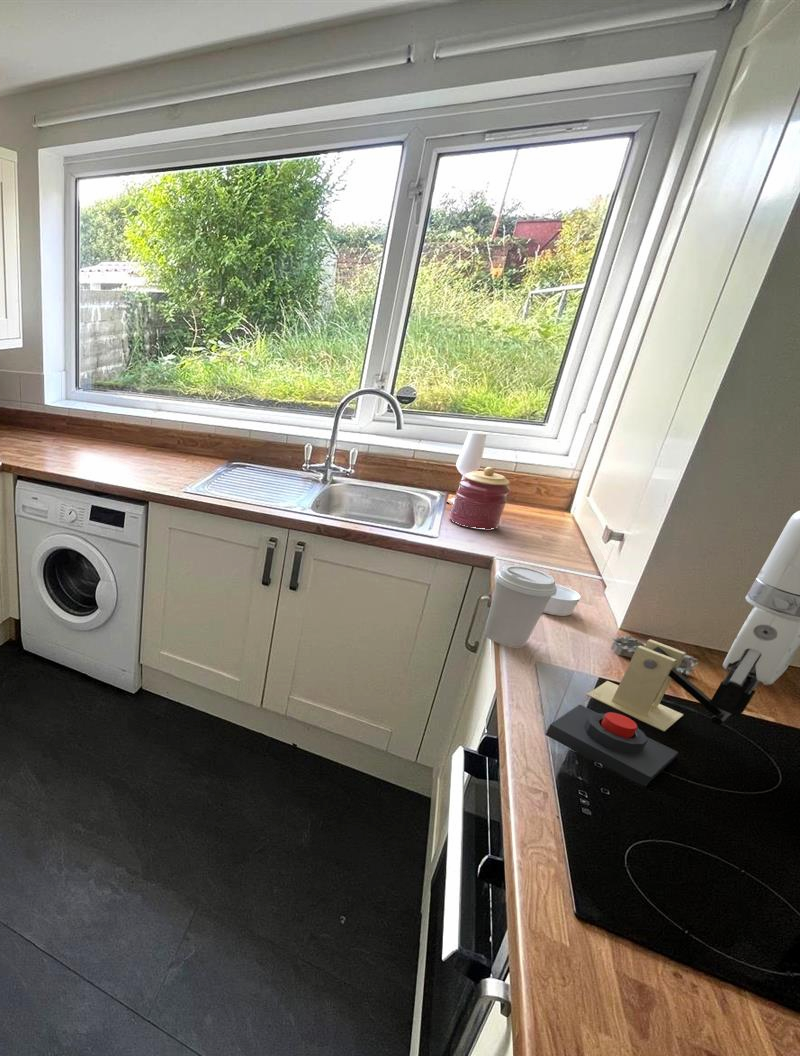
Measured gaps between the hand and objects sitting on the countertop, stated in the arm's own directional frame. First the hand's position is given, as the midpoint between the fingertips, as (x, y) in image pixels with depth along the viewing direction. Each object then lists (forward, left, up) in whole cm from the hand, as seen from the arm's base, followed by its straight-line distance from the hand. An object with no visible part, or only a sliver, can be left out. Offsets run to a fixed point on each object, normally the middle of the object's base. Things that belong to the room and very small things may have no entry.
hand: (725, 708), depth 85 cm
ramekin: (+33, -28, -7) cm, 44 cm away
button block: (+7, +15, -7) cm, 18 cm away
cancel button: (+7, +15, -3) cm, 17 cm away
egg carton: (+13, -19, -7) cm, 24 cm away
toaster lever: (+5, 0, 0) cm, 5 cm away
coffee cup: (+30, -3, -7) cm, 31 cm away
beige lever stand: (+9, 0, -7) cm, 11 cm away
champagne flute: (+83, -84, -7) cm, 118 cm away
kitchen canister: (+70, -69, -7) cm, 99 cm away
